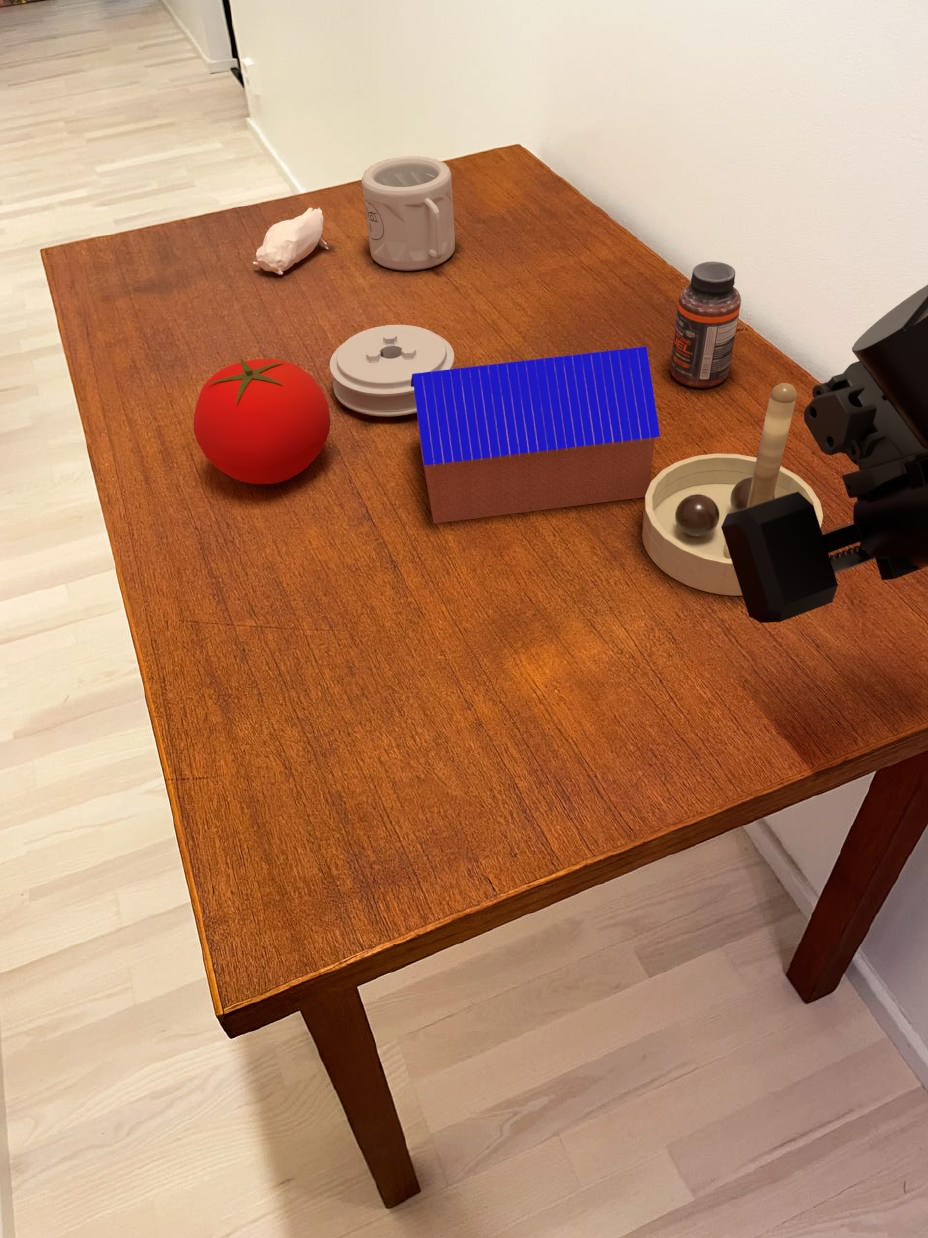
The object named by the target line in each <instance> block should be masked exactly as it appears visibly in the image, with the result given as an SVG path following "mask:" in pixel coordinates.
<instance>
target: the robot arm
mask: <svg viewBox="0 0 928 1238" xmlns="http://www.w3.org/2000/svg"><path fill="white" fill-rule="evenodd" d="M851 351H852V353H853V355H855V357H856V358H857V360H858V361H855V362H852V363H851V364H849V365H848V366H847V368H846V369H845V370H844V371H843V372H842V373H839V374H837V375H833V376H831V378H830V379H829V380H828V381H826V382H822V383H819V384H816V385H814V386H813V388H812V397H813V398H812V400H811V401H810V402H809V403H808V405H807V406H806V407H805V409H804V412H803V421H804V424H805V426H806V427H807V429H808V430H809V432H810V434H811V436H812V438H813V439H814V441H815V442H816V444H817V446H818V448H819V449H820V451H821V452H822V453H823V454H824V455H827V456H833V455H837V454H844V455H846V456H847V458H848V459H849V460H850V462H852V463H853V464H854V465H856V466H857V467H858V470H854V471H851V472H848V473H845V474H842V475H841V478H842V481H843V485H844V487H845V491H846V493H847V496H848V498H849V499H854V498H856V501H855V502H854V503H853V510H852V516H853V517H852V518H853V519H852V520H853V521H852V522H850V523H849V522H848V523H847V524H843V525H842V526H838V527H835V528H833V529H830V530H827V531H824V532H822V527H821V528H820V525H819V522H818V518H817V515H816V512H815V509H814V505H813V504H811V503H810V502H809V501H808V500H807V499H806V498H805V497H804V496H803V495H802V494H800V493H799V492H794V493H791V494H787V495H784V496H781V497H778V498H774V499H771V500H768V501H765V502H762V503H759V504H756V505H753V506H750V507H747V508H744V509H741V510H738V511H735V512H732V513H729V514H727V515H726V517H725V520H724V522H723V524H722V526H721V528H722V531H723V535H724V538H725V541H726V544H727V547H728V551H729V554H730V557H731V560H732V563H733V567H734V570H735V573H736V576H737V579H738V583H739V586H740V589H741V592H742V595H743V596H742V598H743V601H744V605H745V608H746V611H747V614H748V617H749V618H752V619H753V620H755V621H757V622H759V623H760V624H768V623H769V624H770V623H782V622H784V621H786V620H789V619H792V618H795V617H797V616H800V615H802V614H805V613H807V612H810V611H814V610H816V609H819V608H821V607H824V606H826V605H829V604H832V603H833V602H834V598H835V596H836V593H837V590H838V587H839V583H838V580H837V577H836V574H838V573H841V572H845V571H847V570H849V569H852V568H855V567H857V566H861V565H863V564H866V563H869V562H872V561H874V560H875V562H876V565H877V570H878V572H879V575H880V579H881V581H889V580H896V579H898V578H901V577H904V576H907V575H910V574H911V573H914V572H917V571H920V570H923V569H926V568H928V284H926V285H925V286H923V287H922V288H920V289H918V290H917V291H915V292H914V293H912V294H911V295H910V296H908V297H907V298H905V299H904V300H903V301H901V302H900V303H899V304H897V305H896V306H895V307H893V308H892V309H891V310H889V311H888V312H887V313H885V314H884V315H883V316H882V317H880V318H879V319H878V320H876V322H875V323H874V324H872V325H871V326H870V327H869V328H868V329H867V330H865V332H864V333H863V334H861V336H859V338H858V339H857V340H856V341H855V342H854V343H853V345H852V347H851ZM858 543H859V545H855V544H858ZM853 545H854V546H853ZM850 546H853V547H850ZM846 547H849V548H847V549H844V548H846ZM841 549H843V550H841ZM838 550H841V551H838ZM836 551H838V552H836ZM832 552H835V553H832ZM830 553H832V554H830Z"/></svg>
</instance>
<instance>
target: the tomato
mask: <svg viewBox="0 0 928 1238" xmlns="http://www.w3.org/2000/svg"><path fill="white" fill-rule="evenodd" d="M330 431H331V414H330V406H329V402H328V400H327V398H326V395H325V392H324V390H323V389H322V387H321V386H320V385H319V383H318V382H317V381H316V379H315V378H313V376H312V375H311V374H309V373H308V372H307V371H305V369H303V368H302V367H301V366H299V365H297V364H295V363H292V362H290V361H286V360H282V359H275V358H274V359H273V358H258V359H257V358H256V359H247V360H244V359H243V358H242V357H240V361H238V362H235V363H232V364H230V365H227V366H225V367H223V368H221V369H220V370H218V371H216V372H215V373H214V374H213V375H212V376H211V377H210V378H208V379H207V381H206V382H205V383H204V385H203V386H202V387H201V389H200V392H199V396H198V398H197V400H196V404H195V409H194V413H193V434H194V437H195V440H196V443H197V445H198V446H199V448H200V449H201V451H202V453H203V455H204V456H205V458H206V459H207V460H208V461H209V462H210V463H211V465H213V466H214V467H215V468H217V470H219V471H220V472H222V473H224V474H225V475H227V476H229V477H231V478H233V479H234V480H237V481H238V482H239V481H240V482H242V483H247V484H251V485H275V484H279V483H282V482H285V481H288V480H290V479H292V478H294V477H295V476H298V475H299V474H301V472H303V471H304V470H306V469H307V468H308V467H309V466H310V465H311V464H312V462H313V461H315V459H316V458H317V457H318V455H319V454H320V453H321V452H322V450H323V448H324V446H325V444H326V443H327V440H328V437H329V435H330Z"/></svg>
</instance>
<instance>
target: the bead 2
mask: <svg viewBox="0 0 928 1238" xmlns="http://www.w3.org/2000/svg"><path fill="white" fill-rule="evenodd" d="M752 479H753V477H750V478H746V479H743V480H741V481H740V482H738V483H737V484H736V485H735V487H734V488H733V490H732V492H731V496H730V503H731V507H732V509H733V511H734V512H735V511H738V510H741V509H744V508H746V507H747V503H748V498H749V493H750V488H751V484H752ZM774 498H775V497H774V496H773V499H774Z"/></svg>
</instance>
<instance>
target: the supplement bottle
mask: <svg viewBox="0 0 928 1238" xmlns="http://www.w3.org/2000/svg"><path fill="white" fill-rule="evenodd" d="M735 279H736V270H735V268H734V267H733V266H732V265H730V264H727V263H725V262H721V261H705V262H701V263H699V264H697V265H696V266H694V267H693V269H692V273H691V278H690V283H689V284H688V285H686V286H685V287H683V289H682V290H681V291H680V294H679V297H678V302H677V309H676V317H675V326H674V334H673V341H672V347H671V348H672V349H671V358H670V368H669V369H670V370H669V371H670V373H671V376H672V377H673V378H674V379H675V380H676V381H677V382H679V383H680V384H682V385H685V386H686V387H692V388H701V389H705V388H711V387H715V386H718V385H720V384H721V383H723V382H725V380H726V379H727V378H728V375H729V370H730V367H731V361H732V356H733V350H734V345H735V339H736V334H737V328H738V322H739V316H740V310H741V304H742V298H741V294H740V292H739V290H738V289H737V288H736V287H734V286H735V283H736V281H735Z"/></svg>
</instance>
